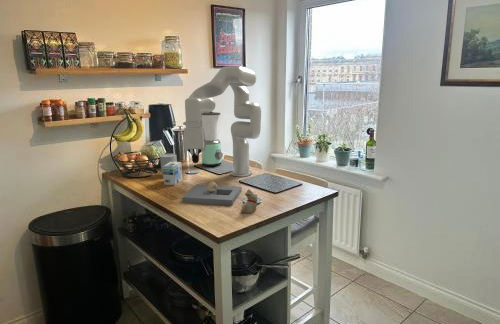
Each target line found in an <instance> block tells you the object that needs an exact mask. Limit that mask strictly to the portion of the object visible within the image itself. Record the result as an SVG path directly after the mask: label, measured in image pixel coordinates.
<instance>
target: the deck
mask: <svg viewBox="0 0 500 324" xmlns="http://www.w3.org/2000/svg"><path fill="white" fill-rule="evenodd" d="M242 192H243V190H242V186H241V185H240V186H239V185H237V186H236V185H218V184H217V189H216V191H214V192H210V191H208V189H207V184H195V185H194V186H193V187H192V188H191V189H190V190H188V192H186V193H185V194H184V195H182V197H181V198H182V203H188V204H189V203H191V204H205V205H206V204H207V205H222V206H233V205H234V203H235V202H236V200H237V199H238V197H239V196H240V194H242Z"/></svg>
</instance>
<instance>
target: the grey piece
mask: <svg viewBox="0 0 500 324" xmlns="http://www.w3.org/2000/svg"><path fill="white" fill-rule="evenodd" d="M159 157H160V158H159V159H160V170H161V171H160V172H161V177H162V178H164V174H163V166H164V165H166V164H167V163H169V162H178V160H177V159H178V158H177V157H178V156H177V153H163V154H160V155H159Z"/></svg>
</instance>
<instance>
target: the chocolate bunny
mask: <svg viewBox="0 0 500 324" xmlns="http://www.w3.org/2000/svg"><path fill="white" fill-rule="evenodd" d="M244 196H245V197H246V198H247V199H246V201H245V202H243V204H242V206H241V209H240V213H241V214H251V213H254V212H256V211H257V205H258V204H259V203H258V201H259V200H258V198H259V197H258V195H257V194H255V193H254V192H253V191H252V190H251V189H249V188H248V189H247V190H246V191H245V193H244Z"/></svg>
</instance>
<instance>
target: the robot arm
mask: <svg viewBox="0 0 500 324" xmlns="http://www.w3.org/2000/svg"><path fill="white" fill-rule="evenodd" d="M256 75H257V74H256V73H255V72H254V71H253V70H252V69H249V68H247V67H245V66H241V65H237V66H236V65H232V66H229V65H228V66H223V67H221V68H220V69H219V70H218V72H216V74H215V75H214V77H213V78H212V79H211V80H210V81H209V82H207V83H205V84H203V85H201V86H200V87H197V88H196V89H195V90H194V91H193V92H192V93H190V95H189V96H188V98H187V97H186V99H185V100H184V113H185V121H184V122H182V124H183V125H184V126H185V127H184V128H183V136H182V147H183V150H184V151H186V152H188V153H189V154H190V155H191V161H192V163H193V164H198V163H199V161H200V155H201V152H203V151H206V138H205V132H204V128H203V127H202V113H210V112H213V111H215V109H216V102H215V99H213V98H215V97H218V96H221V95H223V94H224V92H225V91H227V88H228V87H229V86H230V88H231V89H232V91H233V94H234V97H233V99H234V101H233V115H234V117H235V118H236V119H240V120H241V121H239V120H238V121H234V122H233V123H232V124H231V125H230V135H231V139H232V161H233V163H232V167H233V170H231V171H230V175H231V176H233V177H238V178H239V177H240V178H242V177H249V176H251V175H252V174H253V172H252V170H251V169H250V144H249V140H248V139H253V140H255V139H258V138H259V137H260V135H261V127H262V107H261V106H260V104H258V103H257V102H250V94H249V93H250V92H249V90H248V88H247V87H253V86H254V85H255V84H256V82H257V76H256ZM242 120H249V121H242Z"/></svg>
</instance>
